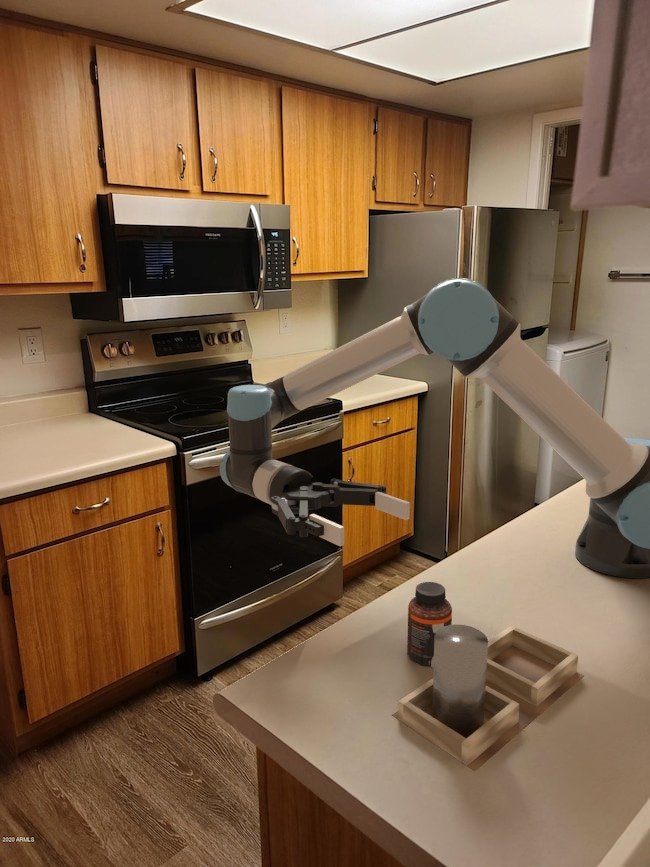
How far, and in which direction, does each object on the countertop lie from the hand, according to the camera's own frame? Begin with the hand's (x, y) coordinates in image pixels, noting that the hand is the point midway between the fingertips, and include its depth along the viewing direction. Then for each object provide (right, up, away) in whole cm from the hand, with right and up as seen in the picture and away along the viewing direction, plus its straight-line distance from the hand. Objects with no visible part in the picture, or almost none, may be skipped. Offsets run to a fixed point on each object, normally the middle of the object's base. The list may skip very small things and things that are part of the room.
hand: (376, 523), depth 92 cm
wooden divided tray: (+14, -21, -11) cm, 27 cm away
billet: (+8, -21, -16) cm, 28 cm away
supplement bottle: (+7, -19, -3) cm, 21 cm away
